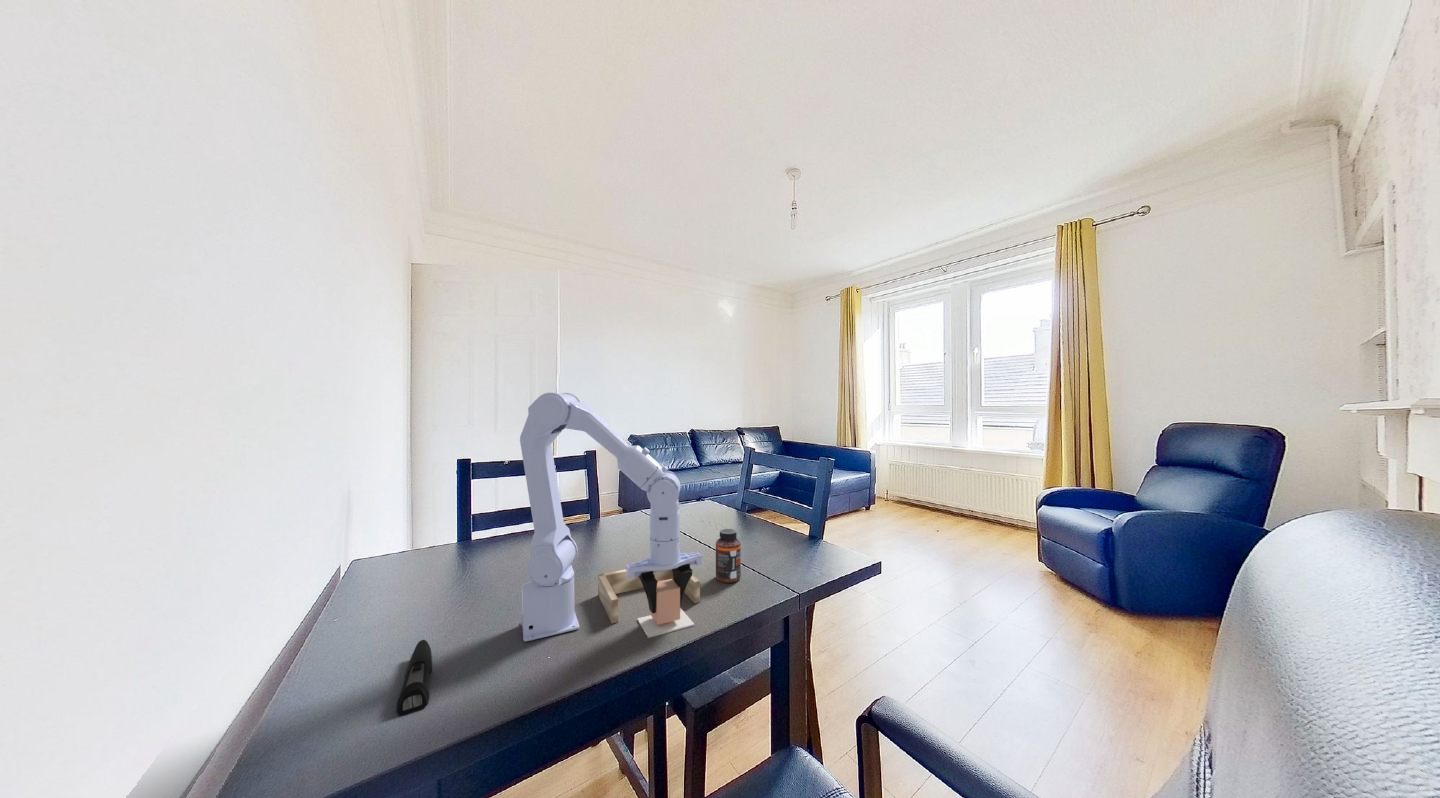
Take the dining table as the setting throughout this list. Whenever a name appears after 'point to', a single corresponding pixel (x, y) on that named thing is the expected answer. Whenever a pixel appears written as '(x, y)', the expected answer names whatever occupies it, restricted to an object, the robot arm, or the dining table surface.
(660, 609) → the block
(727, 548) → the supplement bottle
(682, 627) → the pad
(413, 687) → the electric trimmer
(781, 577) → the dining table surface
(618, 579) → the wooden u-shaped frame
